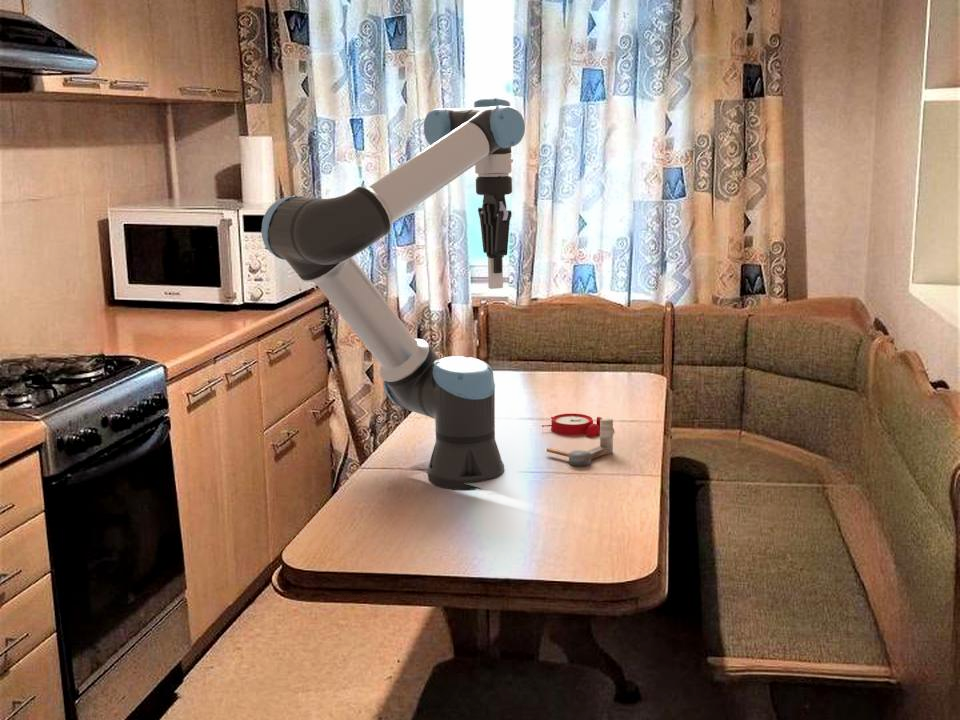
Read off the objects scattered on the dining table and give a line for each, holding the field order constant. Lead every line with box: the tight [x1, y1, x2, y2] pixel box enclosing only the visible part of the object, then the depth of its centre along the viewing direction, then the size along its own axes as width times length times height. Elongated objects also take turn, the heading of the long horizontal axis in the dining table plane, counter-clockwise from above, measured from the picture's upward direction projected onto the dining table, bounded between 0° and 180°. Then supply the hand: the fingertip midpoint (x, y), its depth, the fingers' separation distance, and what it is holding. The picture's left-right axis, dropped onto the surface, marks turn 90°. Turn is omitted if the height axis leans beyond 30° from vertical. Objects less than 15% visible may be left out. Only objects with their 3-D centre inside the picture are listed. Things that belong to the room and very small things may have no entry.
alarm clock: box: [541, 413, 615, 438], centre depth 228 cm, size 10×6×15 cm
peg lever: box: [546, 417, 614, 468], centre depth 209 cm, size 12×10×7 cm
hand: (495, 287), depth 217 cm, fingers closed
